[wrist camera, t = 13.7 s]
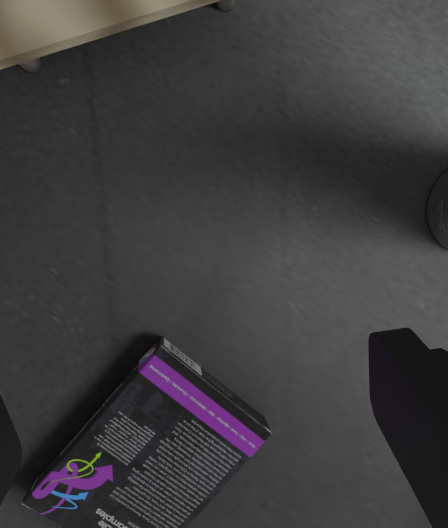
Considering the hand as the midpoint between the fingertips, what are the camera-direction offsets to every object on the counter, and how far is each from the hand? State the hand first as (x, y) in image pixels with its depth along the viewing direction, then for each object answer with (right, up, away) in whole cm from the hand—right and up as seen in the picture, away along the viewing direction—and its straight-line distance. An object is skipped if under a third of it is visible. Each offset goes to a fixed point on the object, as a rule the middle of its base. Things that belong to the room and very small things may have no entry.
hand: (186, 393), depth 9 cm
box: (-7, -15, +32) cm, 36 cm away
